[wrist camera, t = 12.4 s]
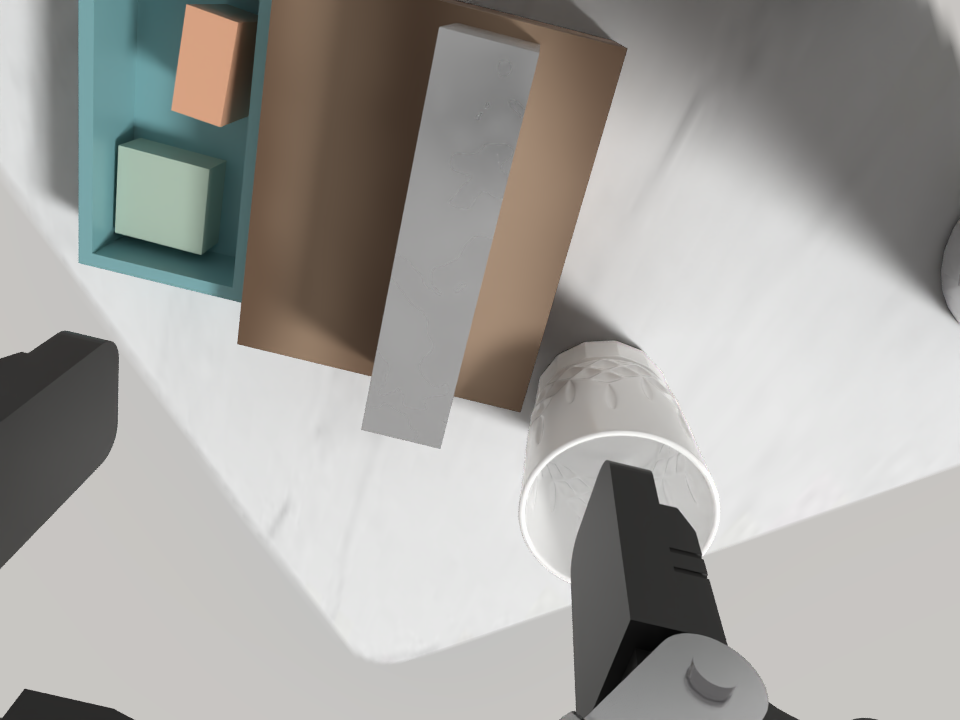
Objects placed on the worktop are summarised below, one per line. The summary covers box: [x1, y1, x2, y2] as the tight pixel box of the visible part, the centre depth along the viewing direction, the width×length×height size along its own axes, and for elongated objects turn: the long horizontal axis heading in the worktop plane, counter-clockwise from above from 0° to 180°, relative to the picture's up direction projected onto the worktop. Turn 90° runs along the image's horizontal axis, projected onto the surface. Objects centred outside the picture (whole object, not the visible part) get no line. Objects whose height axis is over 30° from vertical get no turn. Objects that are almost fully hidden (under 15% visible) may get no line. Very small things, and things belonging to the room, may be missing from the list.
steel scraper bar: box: [361, 23, 540, 449], centre depth 27 cm, size 3×14×5 cm, turn 167°
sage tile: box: [115, 138, 227, 255], centre depth 35 cm, size 4×4×2 cm
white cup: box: [519, 340, 720, 584], centre depth 35 cm, size 8×8×10 cm
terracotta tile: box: [171, 4, 258, 127], centre depth 31 cm, size 4×4×2 cm
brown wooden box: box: [237, 0, 627, 412], centre depth 32 cm, size 12×15×6 cm
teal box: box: [78, 0, 272, 303], centre depth 33 cm, size 8×13×4 cm, turn 167°
